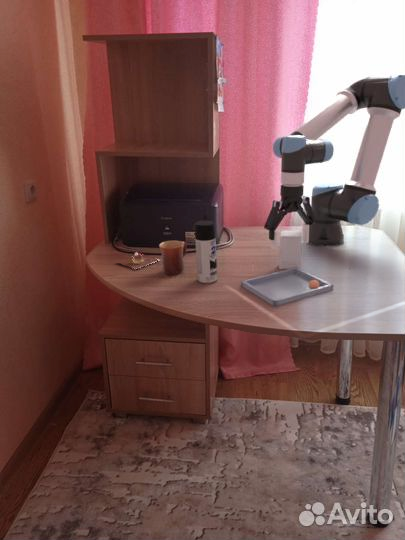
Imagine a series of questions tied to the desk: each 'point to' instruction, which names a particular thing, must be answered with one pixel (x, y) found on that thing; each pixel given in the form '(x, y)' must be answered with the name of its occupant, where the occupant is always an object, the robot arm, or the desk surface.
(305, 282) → the tray
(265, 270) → the desk surface
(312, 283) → the ball
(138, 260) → the dessert
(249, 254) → the desk surface
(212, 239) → the spray can
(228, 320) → the desk surface
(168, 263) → the mug
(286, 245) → the supplement box
